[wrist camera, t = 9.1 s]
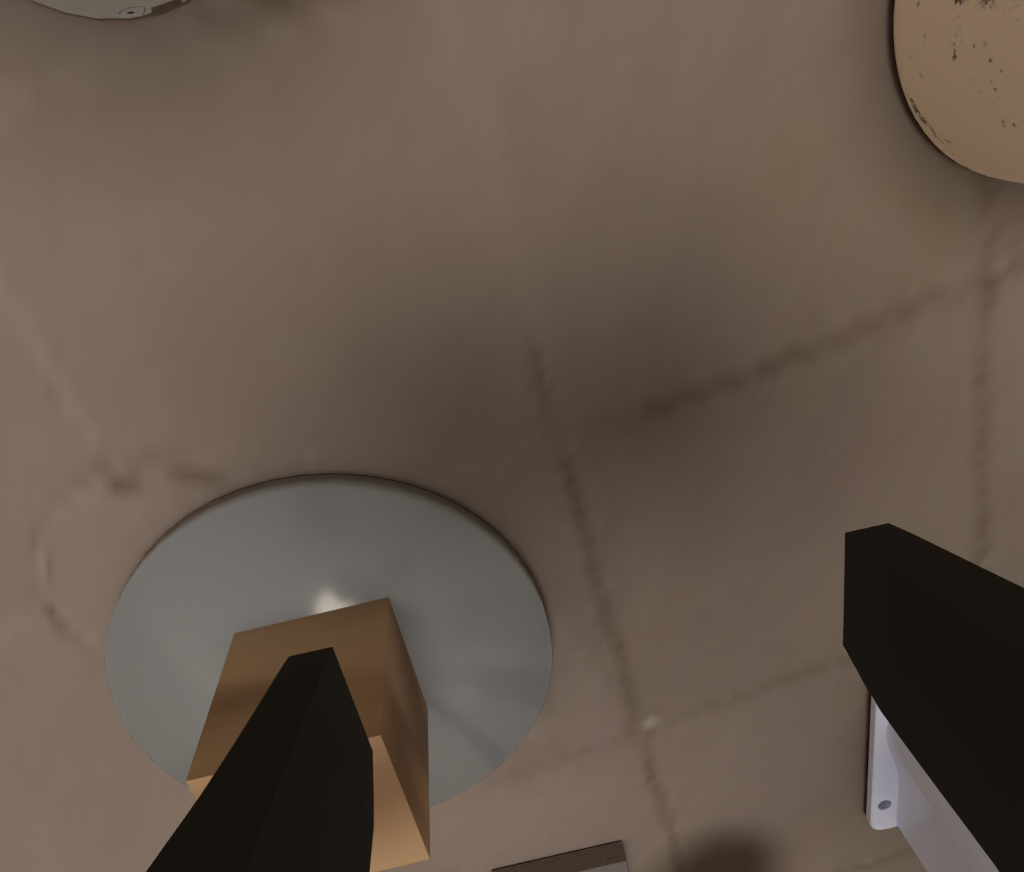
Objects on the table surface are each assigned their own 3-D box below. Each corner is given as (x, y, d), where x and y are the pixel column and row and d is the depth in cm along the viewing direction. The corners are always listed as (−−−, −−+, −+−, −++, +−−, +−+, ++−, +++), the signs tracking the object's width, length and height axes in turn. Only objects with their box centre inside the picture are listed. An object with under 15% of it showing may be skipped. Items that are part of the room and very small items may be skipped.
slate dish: (576, 756, 26) (580, 775, 26) (209, 839, 26) (203, 861, 25) (506, 429, 20) (510, 441, 20) (34, 532, 20) (20, 549, 19)
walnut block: (428, 708, 23) (430, 858, 19) (286, 742, 23) (255, 900, 19) (388, 596, 21) (380, 734, 17) (234, 633, 21) (186, 781, 17)
